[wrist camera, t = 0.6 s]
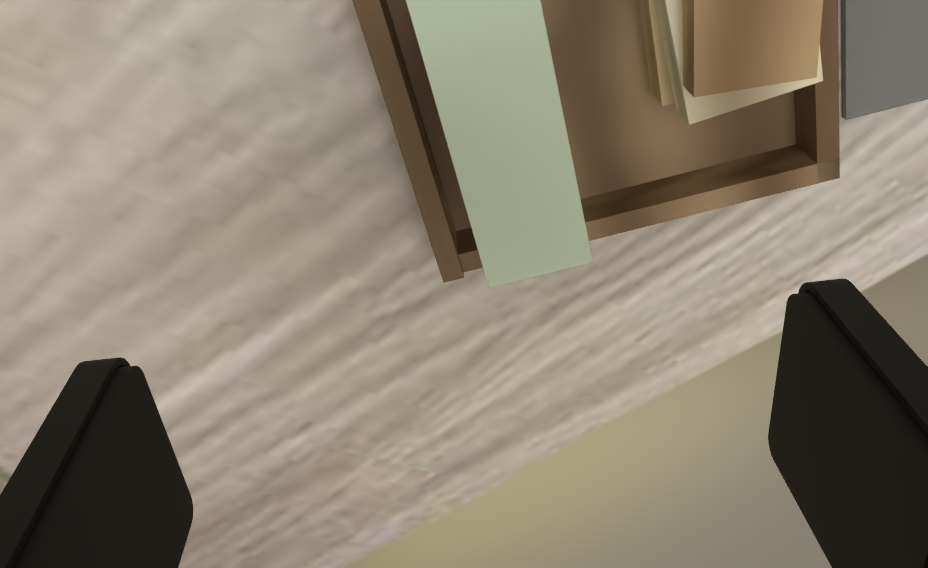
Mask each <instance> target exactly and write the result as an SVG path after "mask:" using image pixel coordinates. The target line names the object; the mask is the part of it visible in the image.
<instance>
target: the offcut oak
mask: <svg viewBox="0 0 928 568" xmlns="http://www.w3.org/2000/svg"><path fill="white" fill-rule="evenodd" d="M638 2H639V9H640V17H641V24H642V31H643V38H644V45H645V53H646V60H647V67H648V74H649V82H650V89H651V93H652V94H653V95H654V96H655V98H656V99H657V100H658V101H659V103H660V104H661V105H662V106H665V105H669V104H672V103H675V101H674V96H673V91H672V86H671V81H670V76H669V71H668V66H667V61H666V56H665V51H664V46H663V42H662V37H661V32H660V27H659V22H658V17H657V12H656V7H655V2H654V0H638Z"/></svg>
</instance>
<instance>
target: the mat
mask: <svg viewBox="0 0 928 568" xmlns="http://www.w3.org/2000/svg"><path fill="white" fill-rule="evenodd" d="M925 99H928V0H842V117H843V118H844V119H846V120H848V119H852V118H855V117H859V116H863V115H867V114H871V113H875V112H879V111H883V110H887V109H890V108H894V107H898V106H902V105H906V104H910V103H914V102H918V101H922V100H925Z"/></svg>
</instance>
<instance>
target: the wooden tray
mask: <svg viewBox="0 0 928 568" xmlns="http://www.w3.org/2000/svg"><path fill="white" fill-rule="evenodd" d="M540 1H541V6H542V11H543V16H544V21H545V26H546V31H547V36H548V41H549V46H550V51H551V56H552V61H553V66H554V71H555V76H556V81H557V86H558V91H559V96H560V101H561V106H562V111H563V116H564V120H565V125H566V130H567V135H568V140H569V145H570V150H571V155H572V160H573V165H574V170H575V175H576V180H577V185H578V190H579V195H580V200H581V205H582V210H583V215H584V220H585V225H586V230H587V235H588V240H589V241H590V240H594V239H598V238H602V237H606V236H610V235H614V234H618V233H622V232H626V231H629V230H633V229H637V228H641V227H645V226H649V225H653V224H657V223H661V222H665V221H669V220H673V219H677V218H681V217H685V216H689V215H693V214H697V213H701V212H705V211H709V210H713V209H717V208H721V207H725V206H729V205H733V204H737V203H741V202H745V201H749V200H753V199H757V198H761V197H765V196H769V195H773V194H777V193H781V192H785V191H789V190H793V189H797V188H801V187H805V186H809V185H813V184H817V183H821V182H825V181H829V180H833V179H837V178H840V171H839V62H838V0H823V9H822V21H821V33H820V53H821V63H822V74H823V81H821V82H818V83H815V84H812V85H809V86H806V87H803V88H800V89H797V90H794V91H791V92H788V93H785V94H782V95H778V96H775V97H772V98H769V99H766V100H763V101H760V102H757V103H754V104H751V105H748V106H745V107H742V108H739V109H736V110H733V111H730V112H727V113H724V114H721V115H718V116H715V117H712V118H708V119H705V120H702V121H699V122H696V123H693V124H690V125H689V124H688V123H687V121H686V120H685V119H684V118H683V117H682V115H681V114H680V113H679V112H678V111H677V109H676V106H675V103H672V104H669V105H665V106H662V105H661V104H660V103H659V101H658V100H657V99H656V98H655V96H654V95H653V94H652V93H651V89H650V82H649V74H648V67H647V60H646V53H645V45H644V38H643V31H642V24H641V17H640V9H639V2H638V0H540ZM353 3H354V6H355V9H356V12H357V15H358V18H359V22H360V25H361V28H362V31H363V34H364V37H365V40H366V43H367V46H368V49H369V53H370V56H371V59H372V62H373V65H374V68H375V71H376V74H377V77H378V80H379V84H380V87H381V90H382V93H383V96H384V99H385V102H386V105H387V108H388V111H389V115H390V118H391V121H392V124H393V127H394V130H395V133H396V136H397V139H398V142H399V146H400V149H401V152H402V155H403V158H404V161H405V164H406V167H407V170H408V173H409V177H410V180H411V183H412V186H413V189H414V192H415V195H416V198H417V201H418V204H419V208H420V211H421V214H422V217H423V220H424V223H425V226H426V229H427V232H428V235H429V239H430V242H431V245H432V248H433V251H434V254H435V257H436V260H437V263H438V266H439V269H440V273H441V276H442V279H443V282H448V281H452V280H456V279H460V278H464V273H463V272H466V271H470V270H474V269H478V268H482V267H483V266H482V262H481V259H480V255H479V252H478V248H477V245H476V241H475V238H474V235H473V231H472V228H471V224H470V221H469V217H468V214H467V210H466V207H465V203H464V200H463V196H462V193H461V189H460V186H459V183H458V179H457V176H456V172H455V169H454V165H453V162H452V158H451V155H450V151H449V148H448V144H447V141H446V137H445V134H444V130H443V127H442V124H441V120H440V117H439V113H438V110H437V106H436V103H435V99H434V96H433V92H432V89H431V85H430V82H429V78H428V75H427V71H426V68H425V65H424V61H423V58H422V54H421V51H420V47H419V44H418V40H417V37H416V33H415V30H414V26H413V23H412V19H411V16H410V12H409V9H408V6H407V2H406V0H353Z"/></svg>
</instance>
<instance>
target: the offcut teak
mask: <svg viewBox="0 0 928 568" xmlns="http://www.w3.org/2000/svg"><path fill="white" fill-rule="evenodd" d="M822 9H823V0H683V86H684V87H685V88H686V89H687V90H688V92H689V93H690V94H691V95H692V96H693V97H700V96H706V95H712V94H719V93H725V92H731V91H737V90H743V89H749V88H756V87H762V86H768V85H774V84H780V83H786V82H792V81H799V80H805V79H811V78H817V68H818V56H819V44H820V33H821V21H822Z"/></svg>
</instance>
